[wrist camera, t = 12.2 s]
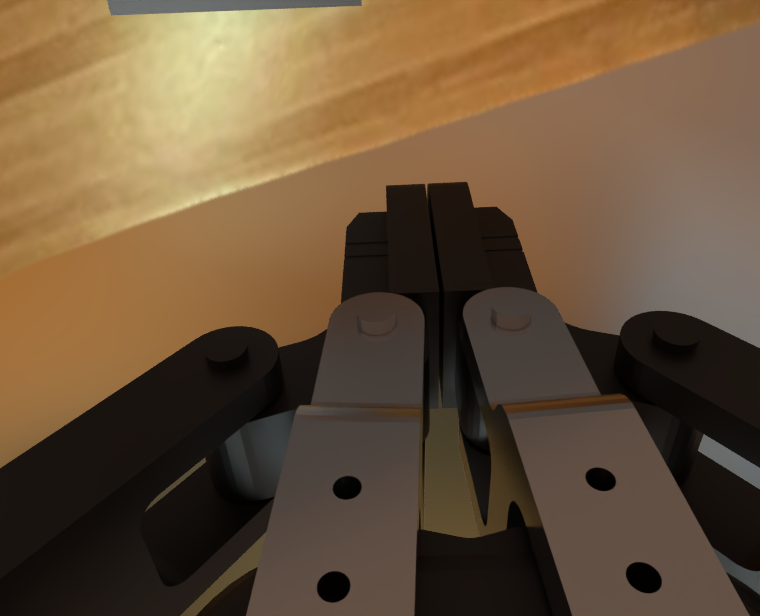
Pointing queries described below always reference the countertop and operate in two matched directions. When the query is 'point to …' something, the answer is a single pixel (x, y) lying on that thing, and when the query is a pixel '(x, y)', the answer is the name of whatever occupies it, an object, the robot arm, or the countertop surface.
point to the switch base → (215, 5)
